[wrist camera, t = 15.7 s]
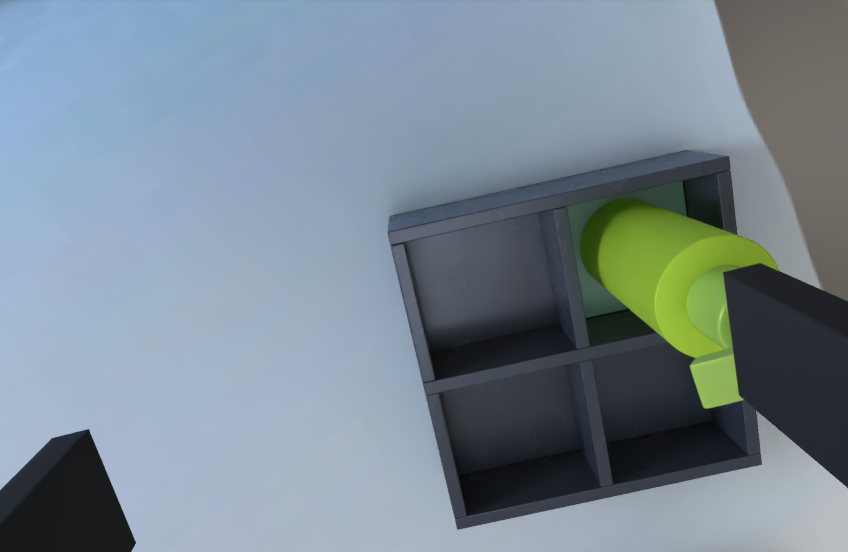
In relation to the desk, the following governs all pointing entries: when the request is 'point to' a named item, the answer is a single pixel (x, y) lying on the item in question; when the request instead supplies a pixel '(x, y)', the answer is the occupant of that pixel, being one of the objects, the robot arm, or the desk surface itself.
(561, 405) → the rack
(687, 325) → the soap dispenser
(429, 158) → the desk surface
